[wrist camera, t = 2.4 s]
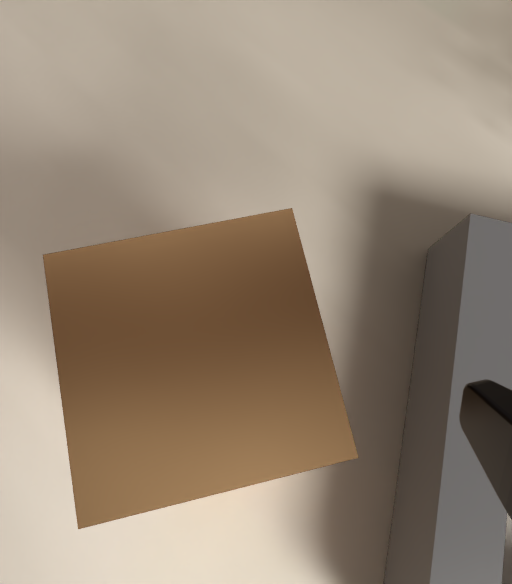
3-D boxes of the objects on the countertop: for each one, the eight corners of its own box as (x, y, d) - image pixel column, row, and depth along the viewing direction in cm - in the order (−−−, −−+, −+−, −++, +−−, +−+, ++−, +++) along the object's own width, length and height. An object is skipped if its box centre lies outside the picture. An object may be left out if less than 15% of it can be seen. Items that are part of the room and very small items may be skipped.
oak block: (291, 439, 17) (358, 457, 9) (153, 473, 17) (78, 528, 8) (260, 307, 19) (291, 207, 10) (130, 334, 18) (42, 254, 9)
